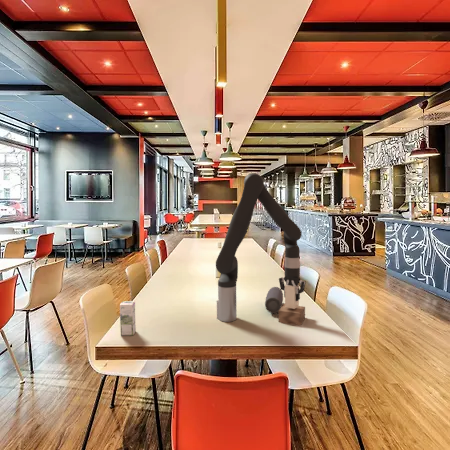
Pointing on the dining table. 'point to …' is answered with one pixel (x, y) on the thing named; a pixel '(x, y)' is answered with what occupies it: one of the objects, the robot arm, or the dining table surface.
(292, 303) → the cream carton
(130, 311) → the syrup box
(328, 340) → the dining table surface
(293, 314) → the walnut block
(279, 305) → the bluetooth speaker
